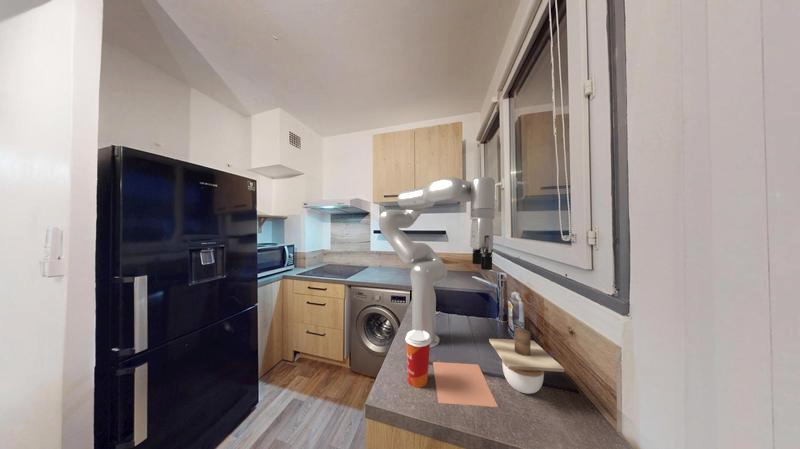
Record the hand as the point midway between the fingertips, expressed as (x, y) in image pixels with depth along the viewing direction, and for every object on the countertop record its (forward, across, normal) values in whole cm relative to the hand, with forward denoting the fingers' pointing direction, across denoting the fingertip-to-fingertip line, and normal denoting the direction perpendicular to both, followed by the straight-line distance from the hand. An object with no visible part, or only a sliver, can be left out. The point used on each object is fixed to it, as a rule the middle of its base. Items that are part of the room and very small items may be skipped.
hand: (481, 266), depth 72 cm
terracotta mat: (+33, +8, -8) cm, 35 cm away
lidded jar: (+33, +8, +10) cm, 36 cm away
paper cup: (+34, +9, -21) cm, 40 cm away
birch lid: (+24, +8, +10) cm, 27 cm away
